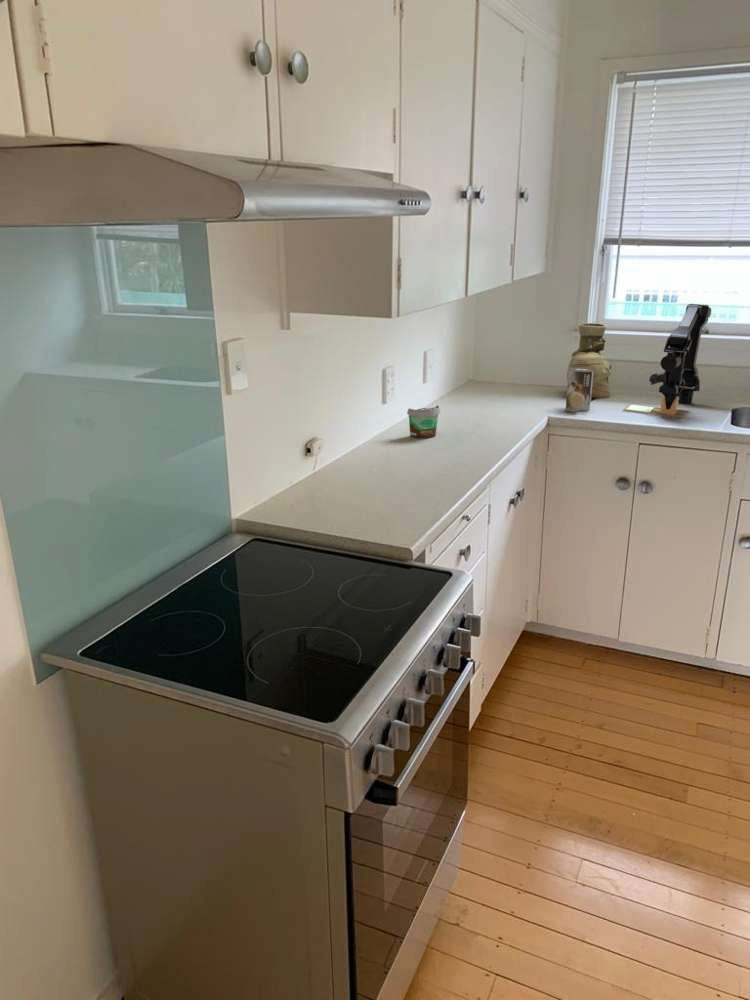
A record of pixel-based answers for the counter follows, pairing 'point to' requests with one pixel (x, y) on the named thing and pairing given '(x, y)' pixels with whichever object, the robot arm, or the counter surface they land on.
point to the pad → (640, 408)
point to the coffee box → (579, 389)
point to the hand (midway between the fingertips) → (669, 407)
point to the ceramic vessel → (593, 358)
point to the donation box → (672, 409)
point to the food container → (423, 422)
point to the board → (657, 412)
